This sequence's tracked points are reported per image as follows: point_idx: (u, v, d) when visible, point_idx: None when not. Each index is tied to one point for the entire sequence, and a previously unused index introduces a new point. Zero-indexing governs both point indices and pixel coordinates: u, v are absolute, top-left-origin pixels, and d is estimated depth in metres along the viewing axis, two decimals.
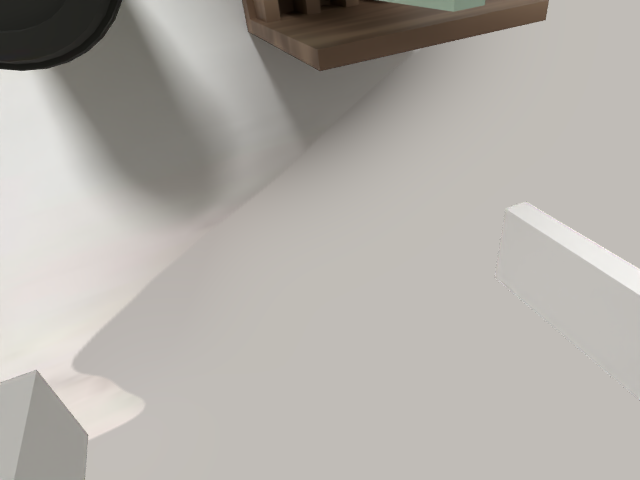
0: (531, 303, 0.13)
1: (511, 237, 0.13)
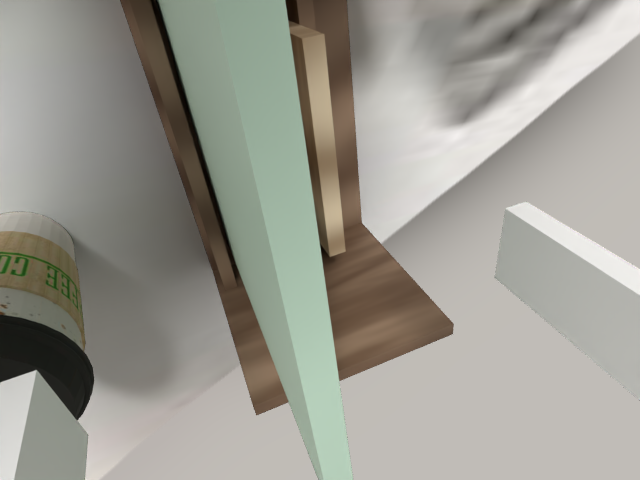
0: (531, 303, 0.13)
1: (511, 237, 0.13)
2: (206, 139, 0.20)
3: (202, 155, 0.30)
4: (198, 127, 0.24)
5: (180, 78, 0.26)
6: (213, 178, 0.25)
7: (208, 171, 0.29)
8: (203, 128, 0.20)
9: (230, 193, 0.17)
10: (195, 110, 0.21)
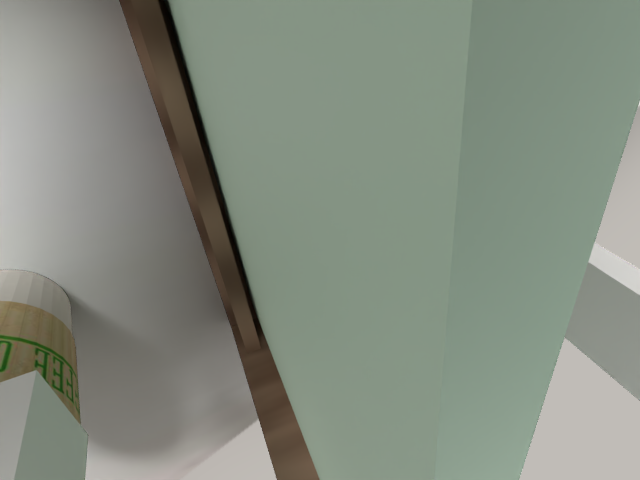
0: None
1: None
2: (240, 207, 0.15)
3: (223, 201, 0.25)
4: (224, 180, 0.19)
5: (199, 115, 0.21)
6: (240, 239, 0.21)
7: (231, 222, 0.24)
8: (237, 195, 0.15)
9: (284, 305, 0.12)
10: (223, 165, 0.17)
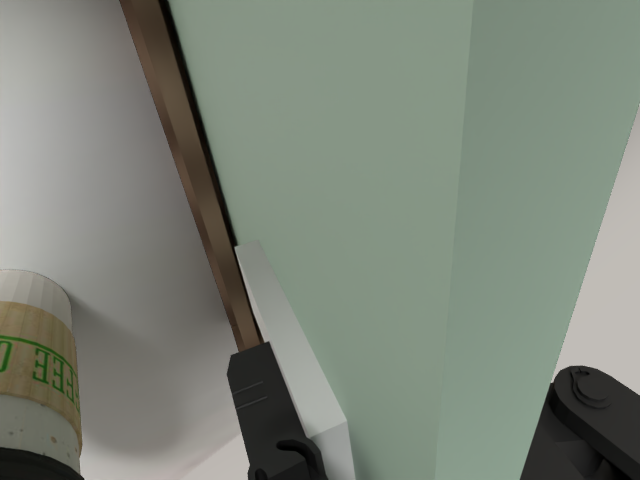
0: None
1: None
2: (240, 208, 0.15)
3: (223, 201, 0.25)
4: (224, 180, 0.19)
5: (200, 115, 0.21)
6: (240, 239, 0.21)
7: (231, 222, 0.24)
8: (237, 195, 0.15)
9: None
10: (223, 165, 0.17)
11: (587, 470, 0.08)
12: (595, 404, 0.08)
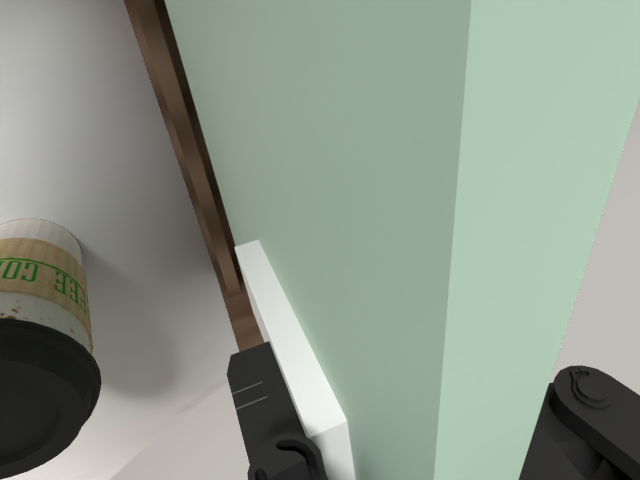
0: None
1: None
2: (240, 207, 0.15)
3: (223, 201, 0.25)
4: (224, 180, 0.19)
5: (200, 116, 0.21)
6: (241, 239, 0.21)
7: (231, 222, 0.24)
8: (237, 195, 0.15)
9: None
10: (223, 165, 0.17)
11: (587, 470, 0.08)
12: (596, 404, 0.08)
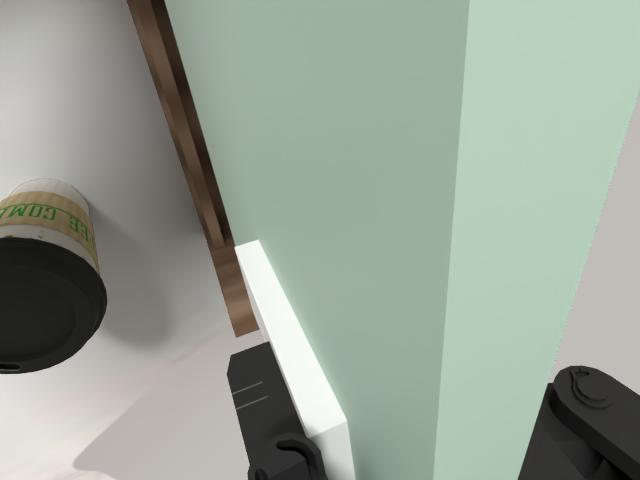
0: None
1: None
2: (240, 207, 0.15)
3: (223, 201, 0.25)
4: (224, 180, 0.19)
5: (200, 116, 0.21)
6: (240, 239, 0.21)
7: (231, 222, 0.24)
8: (237, 195, 0.15)
9: None
10: (223, 165, 0.17)
11: (587, 470, 0.08)
12: (596, 404, 0.08)
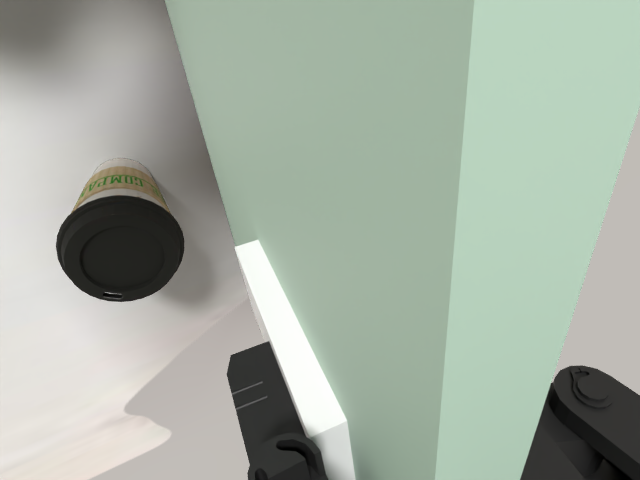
0: None
1: None
2: (240, 208, 0.15)
3: (223, 202, 0.25)
4: (224, 181, 0.19)
5: (200, 116, 0.21)
6: (241, 240, 0.21)
7: (231, 223, 0.24)
8: (237, 195, 0.15)
9: None
10: (224, 166, 0.17)
11: (587, 470, 0.08)
12: (596, 404, 0.08)
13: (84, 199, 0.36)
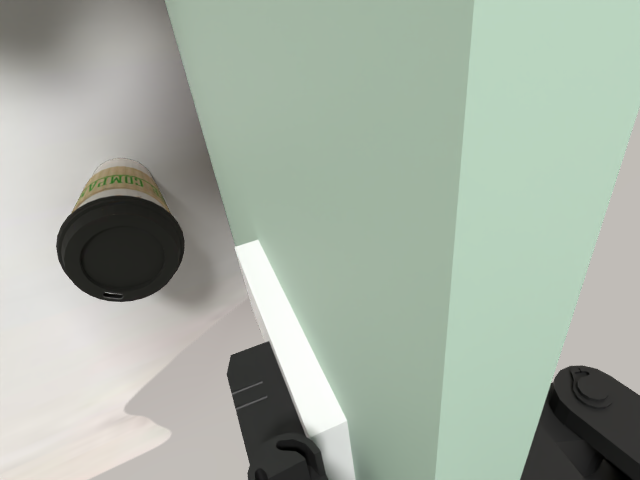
0: None
1: None
2: (240, 208, 0.15)
3: (223, 202, 0.25)
4: (224, 181, 0.19)
5: (200, 116, 0.21)
6: (241, 240, 0.21)
7: (231, 223, 0.24)
8: (237, 195, 0.15)
9: None
10: (224, 166, 0.17)
11: (587, 470, 0.08)
12: (596, 404, 0.08)
13: (84, 199, 0.36)
